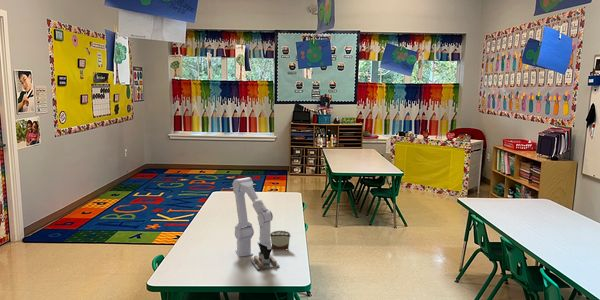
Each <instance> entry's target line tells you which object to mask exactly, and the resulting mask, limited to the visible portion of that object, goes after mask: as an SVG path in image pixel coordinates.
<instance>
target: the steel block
mask: <svg viewBox="0 0 600 300" xmlns="http://www.w3.org/2000/svg"><path fill="white" fill-rule="evenodd" d="M258 258H259V259H260V260H261V261H262V263H263V265H266V264H270V258H269V259H267V260H265V258H264V252H263V251H258Z"/></svg>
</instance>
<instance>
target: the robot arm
mask: <svg viewBox="0 0 600 300" xmlns="http://www.w3.org/2000/svg"><path fill="white" fill-rule="evenodd" d="M232 191H233V194H234V197H235V205H236V212H237V213H236V214H237V220H238V223H237V224H236V225H235V226H234V236H235V239H236V249H235V250H234V251H235V253H236V254H237V255H238V257H240V258H241V257H247V256H254V253H253V252H252V250H251V247H252V244H251V243H252V240H251V239H252V238H253V236H254V235H255V234H254V233H255V231H254V228H253V224H252V223H251V222H250V221H249V219H248V211H247V206H246V196H245V194H246V195H247V196H248V198H249V199H250V201H251V202H252V205H251V206H252V207H253V209H254V211H255V213H256V215H257V222H258V226H259V237H258V240H257V245H258V247H259V250H260V251H263V252H264V258H265V260H267V259H269V256H270V255H271V253H272V251H273V250H272V249H273V247H272V243H271V236H270V234H271V221H273V218H274V215H273V212H272V211H271V209H268V208H267V207H266V205H265V203H264V202H263V200H262V199H259V198H258V195H257V193H256V190H255V189H254V182H253V179H252V177H249V176H248V177H244V178H236V179H233V182H232ZM260 251H259V252H260Z"/></svg>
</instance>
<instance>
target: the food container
mask: <svg viewBox="0 0 600 300" xmlns="http://www.w3.org/2000/svg"><path fill="white" fill-rule="evenodd" d="M291 236H292V235H291V233H290V231H287V230H274V231H272V232H270V240H271V246H272V247H273V249H272V251H287V250H286V249H288V250H289V246H290V238H291Z"/></svg>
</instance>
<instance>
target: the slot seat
mask: <svg viewBox="0 0 600 300" xmlns="http://www.w3.org/2000/svg"><path fill="white" fill-rule="evenodd" d="M269 258H270V264H266V265H263V263H262V261H261V260H260V259H259V256H257V255H253V259H252V260H251V261H250V262H251V264H252V265H253V266H254V268H255V269H256V270H257V271H258V272H260V271H266V270H271V269H272V268H273V269H277V267H279V268H280V265H279V263H277V260H276V258H274V257H273V255H272V254H270V256H269Z"/></svg>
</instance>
